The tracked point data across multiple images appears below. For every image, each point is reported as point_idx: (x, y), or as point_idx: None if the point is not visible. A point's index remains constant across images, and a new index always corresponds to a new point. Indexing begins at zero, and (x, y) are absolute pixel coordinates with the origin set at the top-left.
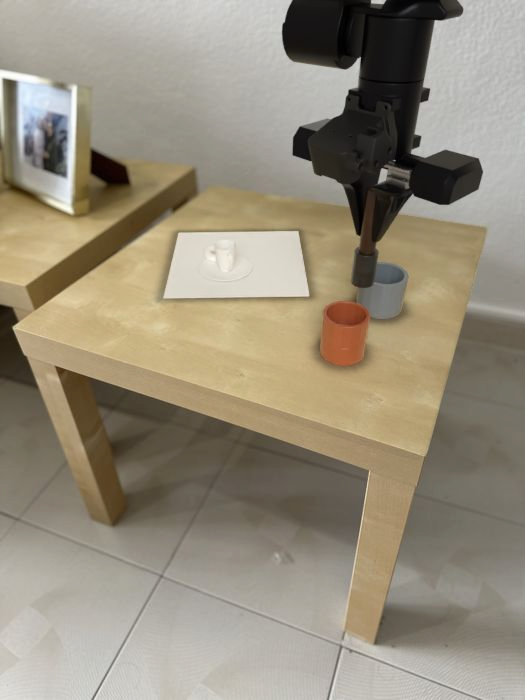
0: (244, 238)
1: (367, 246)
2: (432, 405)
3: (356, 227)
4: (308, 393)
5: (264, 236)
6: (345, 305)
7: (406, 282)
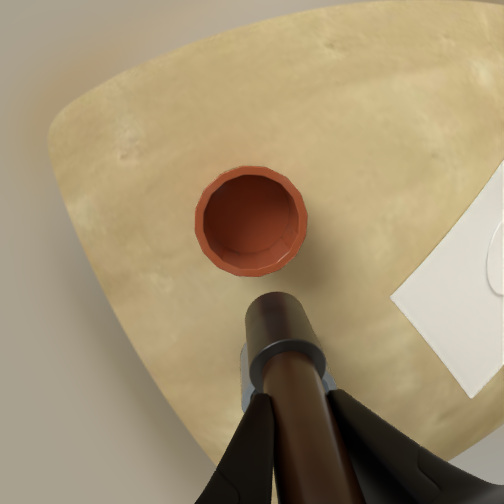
0: None
1: (278, 372)
2: (69, 208)
3: (350, 403)
4: (217, 81)
5: (501, 356)
6: (279, 256)
7: (242, 406)
